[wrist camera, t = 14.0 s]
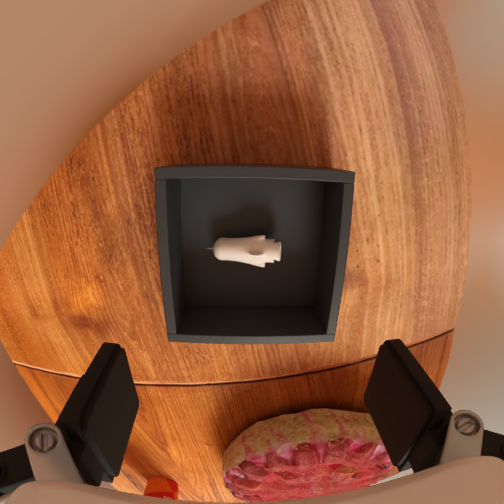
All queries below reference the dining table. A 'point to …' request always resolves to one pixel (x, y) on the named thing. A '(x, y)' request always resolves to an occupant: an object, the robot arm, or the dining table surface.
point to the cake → (305, 456)
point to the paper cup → (161, 488)
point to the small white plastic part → (248, 250)
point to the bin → (247, 275)
